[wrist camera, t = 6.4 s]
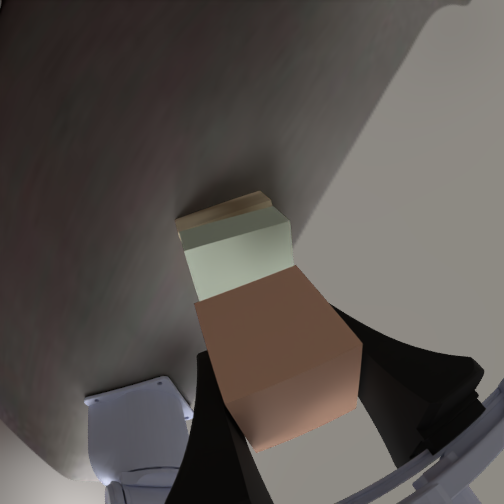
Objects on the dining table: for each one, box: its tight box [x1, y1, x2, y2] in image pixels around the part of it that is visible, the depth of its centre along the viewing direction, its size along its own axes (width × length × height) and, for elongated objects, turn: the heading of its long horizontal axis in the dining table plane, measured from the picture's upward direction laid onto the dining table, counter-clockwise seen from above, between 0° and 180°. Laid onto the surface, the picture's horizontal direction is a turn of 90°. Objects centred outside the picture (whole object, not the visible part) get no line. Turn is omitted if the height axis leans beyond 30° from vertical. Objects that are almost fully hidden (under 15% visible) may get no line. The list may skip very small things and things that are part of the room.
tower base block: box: [175, 191, 272, 239], centre depth 21 cm, size 6×6×2 cm
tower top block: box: [179, 206, 294, 301], centre depth 19 cm, size 6×6×2 cm
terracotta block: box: [194, 265, 363, 453], centre depth 12 cm, size 4×4×5 cm
